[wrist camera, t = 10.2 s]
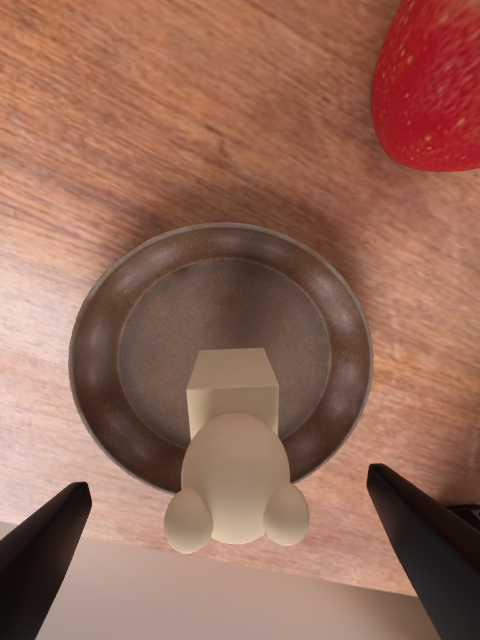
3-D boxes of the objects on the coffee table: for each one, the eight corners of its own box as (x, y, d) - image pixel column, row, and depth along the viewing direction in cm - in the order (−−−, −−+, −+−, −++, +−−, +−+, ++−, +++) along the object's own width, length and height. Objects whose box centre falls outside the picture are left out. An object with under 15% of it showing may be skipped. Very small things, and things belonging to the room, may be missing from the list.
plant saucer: (98, 205, 13) (60, 188, 10) (380, 255, 15) (418, 253, 12) (95, 453, 17) (68, 492, 14) (316, 472, 19) (332, 511, 16)
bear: (266, 415, 14) (312, 596, 6) (200, 418, 14) (166, 609, 6) (267, 347, 13) (323, 468, 5) (195, 349, 12) (145, 479, 5)
